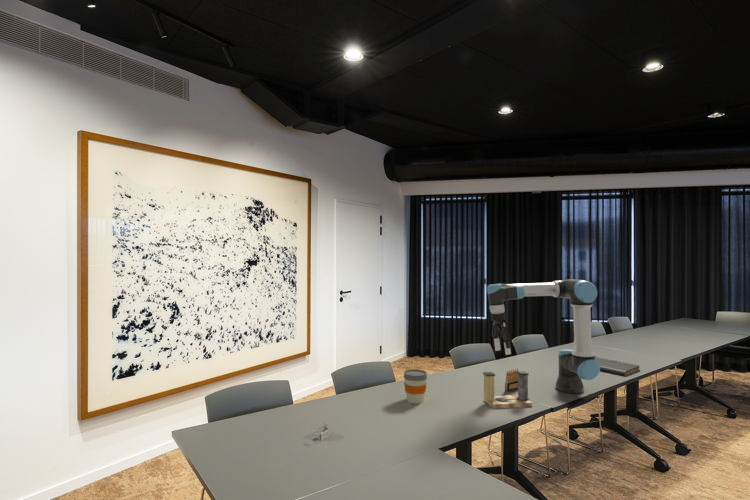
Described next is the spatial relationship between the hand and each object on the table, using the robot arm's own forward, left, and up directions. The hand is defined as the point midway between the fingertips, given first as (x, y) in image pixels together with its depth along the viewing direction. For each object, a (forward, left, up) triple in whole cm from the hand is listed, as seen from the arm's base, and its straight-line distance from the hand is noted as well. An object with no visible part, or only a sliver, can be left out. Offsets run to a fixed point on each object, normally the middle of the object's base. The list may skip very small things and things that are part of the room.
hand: (503, 352), depth 224 cm
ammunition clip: (-14, -17, -27) cm, 34 cm away
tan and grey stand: (-1, +3, -26) cm, 26 cm away
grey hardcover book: (-102, -53, -27) cm, 118 cm away
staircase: (+97, +32, -27) cm, 106 cm away
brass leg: (+9, +3, -24) cm, 26 cm away
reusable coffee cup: (+46, -8, -26) cm, 54 cm away
